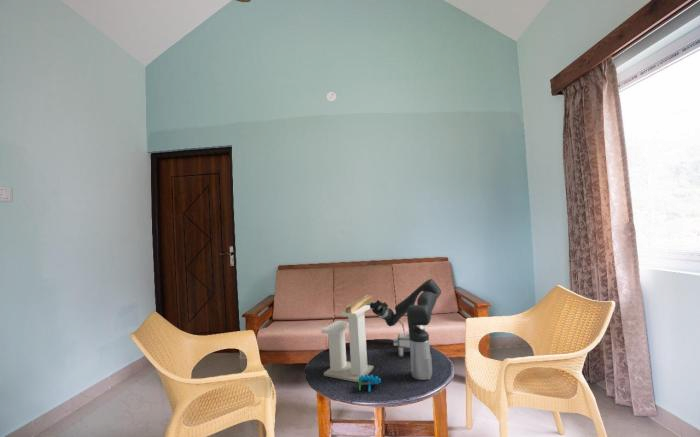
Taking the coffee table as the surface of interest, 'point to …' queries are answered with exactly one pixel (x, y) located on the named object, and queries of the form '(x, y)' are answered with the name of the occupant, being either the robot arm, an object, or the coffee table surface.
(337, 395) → the coffee table surface
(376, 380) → the blue legged figure
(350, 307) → the wooden slat
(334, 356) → the two-step rack
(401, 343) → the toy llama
